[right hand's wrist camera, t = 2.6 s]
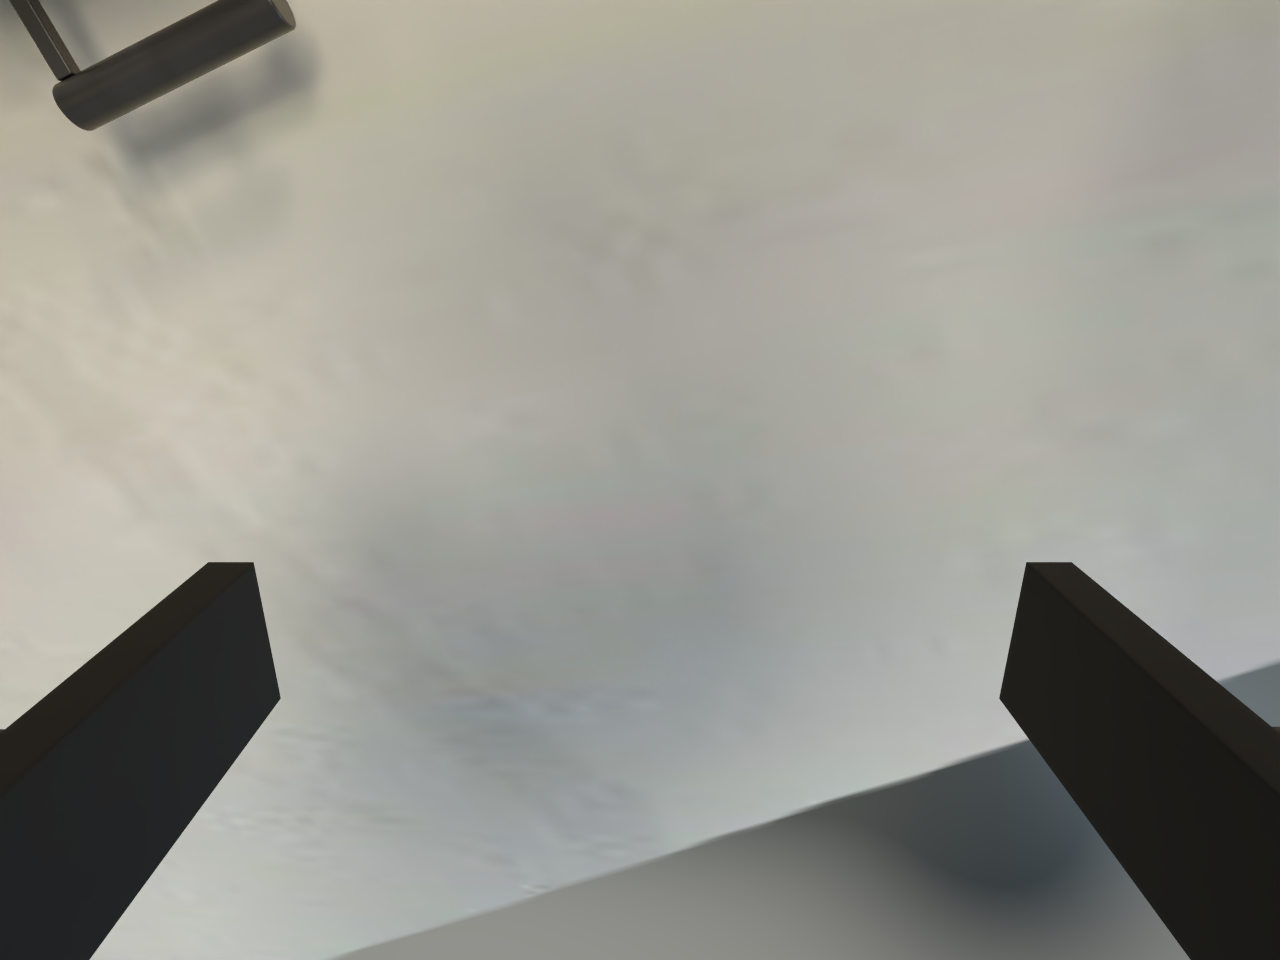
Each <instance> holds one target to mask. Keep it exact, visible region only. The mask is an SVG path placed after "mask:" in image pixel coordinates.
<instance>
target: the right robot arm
mask: <svg viewBox="0 0 1280 960" xmlns="http://www.w3.org/2000/svg"><path fill="white" fill-rule="evenodd" d="M280 699H281V698H280V693H279V688H278V683H277V678H276V673H275V668H274V663H273V658H272V653H271V648H270V643H269V638H268V633H267V628H266V623H265V618H264V613H263V607H262V602H261V597H260V592H259V587H258V582H257V577H256V572H255V567H254V562H208V563H207V564H206V565H205V566H203V567H202V568H201V569H200V570H199V571H197V572H196V573H195V574H194V575H192V576H191V577H190V578H189V579H188V580H186V581H185V582H184V583H183V584H182V585H180V586H179V587H178V588H177V589H175V590H174V591H173V592H172V593H171V594H169V595H168V596H167V597H166V598H165V599H163V600H162V601H161V602H160V603H158V604H157V605H156V606H155V607H154V608H152V609H151V610H150V611H149V612H147V613H146V614H145V615H144V616H143V617H141V618H140V619H139V620H138V621H137V622H135V623H134V624H133V625H132V626H130V627H129V628H128V629H127V630H126V631H124V632H123V633H122V634H121V635H120V636H118V637H117V638H116V639H115V640H113V641H112V642H111V643H110V644H109V645H107V646H106V647H105V648H104V649H102V650H101V651H100V652H99V653H98V654H96V655H95V656H94V657H93V658H92V659H90V660H89V661H88V662H87V663H85V664H84V665H83V666H82V667H81V668H79V669H78V670H77V671H76V672H75V673H73V674H72V675H71V676H70V677H68V678H67V679H66V680H65V681H64V682H62V683H61V684H60V685H59V686H57V687H56V688H55V689H54V690H53V691H51V692H50V693H49V694H48V695H47V696H45V697H44V698H43V699H42V700H40V701H39V702H38V703H37V704H36V705H34V706H33V707H32V708H31V709H30V710H28V711H27V712H26V713H25V714H23V715H22V716H21V717H20V718H19V719H17V720H16V721H15V722H14V723H12V724H11V725H10V726H9V727H8V728H6V729H0V960H89V959H90V958H91V957H92V955H93V954H94V953H95V951H96V950H97V948H98V947H99V946H100V944H101V943H102V942H103V940H104V939H105V938H106V936H107V935H108V933H109V932H110V931H111V929H112V928H113V927H114V925H115V924H116V922H117V921H118V920H119V918H120V917H121V916H122V914H123V913H124V912H125V910H126V909H127V907H128V906H129V905H130V903H131V902H132V901H133V899H134V898H135V897H136V895H137V894H138V892H139V891H140V890H141V888H142V887H143V886H144V884H145V883H146V882H147V880H148V879H149V877H150V876H151V875H152V873H153V872H154V871H155V869H156V868H157V866H158V865H159V864H160V862H161V861H162V860H163V858H164V857H165V856H166V854H167V853H168V851H169V850H170V849H171V847H172V846H173V845H174V843H175V842H176V841H177V839H178V838H179V836H180V835H181V834H182V832H183V831H184V830H185V828H186V827H187V826H188V824H189V823H190V821H191V820H192V819H193V817H194V816H195V815H196V813H197V812H198V810H199V809H200V808H201V806H202V805H203V804H204V802H205V801H206V800H207V798H208V797H209V795H210V794H211V793H212V791H213V790H214V789H215V787H216V786H217V785H218V783H219V782H220V780H221V779H222V778H223V776H224V775H225V774H226V772H227V771H228V770H229V768H230V767H231V765H232V764H233V763H234V761H235V760H236V759H237V757H238V756H239V754H240V753H241V752H242V750H243V749H244V748H245V746H246V745H247V744H248V742H249V741H250V739H251V738H252V737H253V735H254V734H255V733H256V731H257V730H258V729H259V727H260V726H261V724H262V723H263V722H264V720H265V719H266V718H267V716H268V715H269V714H270V712H271V711H272V709H273V708H274V707H275V705H276V704H277V703H278V701H279V700H280ZM999 699H1000V700H1001V701H1002V703H1003V704H1004V705H1005V707H1006V708H1007V709H1008V711H1009V712H1010V714H1011V715H1012V716H1013V718H1014V719H1015V720H1016V722H1017V723H1018V724H1019V726H1020V727H1021V729H1022V730H1023V731H1024V733H1025V734H1026V735H1027V737H1028V738H1029V739H1030V741H1031V742H1032V744H1033V745H1034V746H1035V748H1036V749H1037V750H1038V752H1039V753H1040V754H1041V756H1042V757H1043V759H1044V760H1045V761H1046V763H1047V764H1048V765H1049V767H1050V768H1051V769H1052V771H1053V772H1054V774H1055V775H1056V776H1057V778H1058V779H1059V780H1060V782H1061V783H1062V785H1063V786H1064V787H1065V789H1066V790H1067V791H1068V793H1069V794H1070V795H1071V797H1072V798H1073V800H1074V801H1075V802H1076V804H1077V805H1078V806H1079V808H1080V809H1081V810H1082V812H1083V813H1084V814H1085V816H1086V817H1087V819H1088V820H1089V821H1090V823H1091V824H1092V825H1093V827H1094V828H1095V830H1096V831H1097V832H1098V834H1099V835H1100V836H1101V838H1102V839H1103V841H1104V842H1105V843H1106V845H1107V846H1108V847H1109V849H1110V850H1111V851H1112V853H1113V854H1114V855H1115V857H1116V858H1117V860H1118V861H1119V862H1120V864H1121V865H1122V866H1123V868H1124V869H1125V871H1126V872H1127V873H1128V875H1129V876H1130V877H1131V879H1132V880H1133V882H1134V883H1135V884H1136V886H1137V887H1138V888H1139V890H1140V891H1141V892H1142V894H1143V895H1144V897H1145V898H1146V899H1147V901H1148V902H1149V903H1150V905H1151V906H1152V907H1153V909H1154V910H1155V912H1156V913H1157V914H1158V916H1159V917H1160V918H1161V920H1162V921H1163V922H1164V924H1165V925H1166V927H1167V928H1168V929H1169V931H1170V932H1171V933H1172V935H1173V936H1174V938H1175V939H1176V940H1177V942H1178V943H1179V944H1180V946H1181V947H1182V948H1183V950H1184V951H1185V952H1186V954H1187V955H1188V957H1189V958H1190V959H1191V960H1280V727H1271V726H1270V725H1269V724H1268V723H1266V722H1265V721H1264V720H1263V719H1261V718H1260V717H1259V716H1258V715H1257V714H1255V713H1254V712H1253V711H1252V710H1250V709H1249V708H1248V707H1247V706H1246V705H1244V704H1243V703H1242V702H1241V701H1240V700H1238V699H1237V698H1236V697H1235V696H1233V695H1232V694H1231V693H1230V692H1229V691H1227V690H1226V689H1225V688H1224V687H1223V686H1221V685H1220V684H1219V683H1218V682H1216V681H1215V680H1214V679H1213V678H1212V677H1210V676H1209V675H1208V674H1207V673H1205V672H1204V671H1203V670H1202V669H1201V668H1199V667H1198V666H1197V665H1196V664H1195V663H1193V662H1192V661H1191V660H1190V659H1188V658H1187V657H1186V656H1185V655H1184V654H1182V653H1181V652H1180V651H1179V650H1178V649H1176V648H1175V647H1174V646H1173V645H1171V644H1170V643H1169V642H1168V641H1167V640H1165V639H1164V638H1163V637H1162V636H1160V635H1159V634H1158V633H1157V632H1156V631H1154V630H1153V629H1152V628H1151V627H1150V626H1148V625H1147V624H1146V623H1145V622H1143V621H1142V620H1141V619H1140V618H1139V617H1137V616H1136V615H1135V614H1134V613H1133V612H1131V611H1130V610H1129V609H1128V608H1126V607H1125V606H1124V605H1123V604H1122V603H1120V602H1119V601H1118V600H1117V599H1115V598H1114V597H1113V596H1112V595H1111V594H1109V593H1108V592H1107V591H1106V590H1105V589H1103V588H1102V587H1101V586H1100V585H1098V584H1097V583H1096V582H1095V581H1094V580H1092V579H1091V578H1090V577H1089V576H1088V575H1086V574H1085V573H1084V572H1083V571H1081V570H1080V569H1079V568H1078V567H1077V566H1075V565H1074V564H1073V563H1072V562H1026V567H1025V572H1024V577H1023V582H1022V587H1021V592H1020V597H1019V602H1018V607H1017V613H1016V618H1015V623H1014V628H1013V633H1012V638H1011V643H1010V648H1009V653H1008V658H1007V663H1006V668H1005V673H1004V678H1003V683H1002V688H1001V693H1000V698H999Z"/></svg>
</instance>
